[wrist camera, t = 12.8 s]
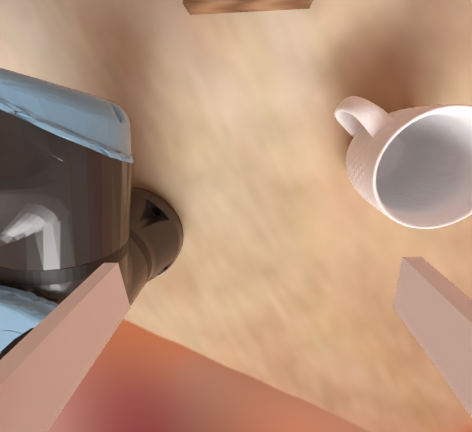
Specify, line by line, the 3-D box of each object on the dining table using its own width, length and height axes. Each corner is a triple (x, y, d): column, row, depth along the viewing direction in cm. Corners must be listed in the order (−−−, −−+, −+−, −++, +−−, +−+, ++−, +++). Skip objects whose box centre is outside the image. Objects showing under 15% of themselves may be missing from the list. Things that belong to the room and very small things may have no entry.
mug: (295, 138, 34) (315, 149, 22) (360, 66, 31) (426, 32, 18) (369, 207, 37) (423, 251, 25) (438, 148, 33) (541, 165, 21)
